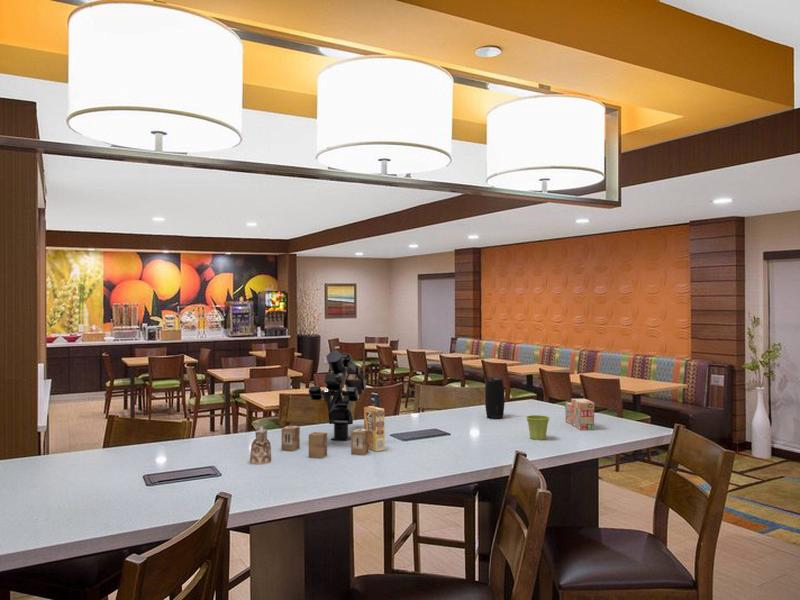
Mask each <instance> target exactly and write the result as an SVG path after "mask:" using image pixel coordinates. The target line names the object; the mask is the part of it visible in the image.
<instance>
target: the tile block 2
mask: <svg viewBox="0 0 800 600" xmlns="http://www.w3.org/2000/svg"><path fill="white" fill-rule="evenodd" d="M350 433H351V434H350V436H351V438H350V454H351V455H353V456H354V455H355V456H366V455H368V453H369V450H370V449H369V430H365V429H364V428H361V429H360V428H357V429H354V430H353V431H351V432H350Z"/></svg>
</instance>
